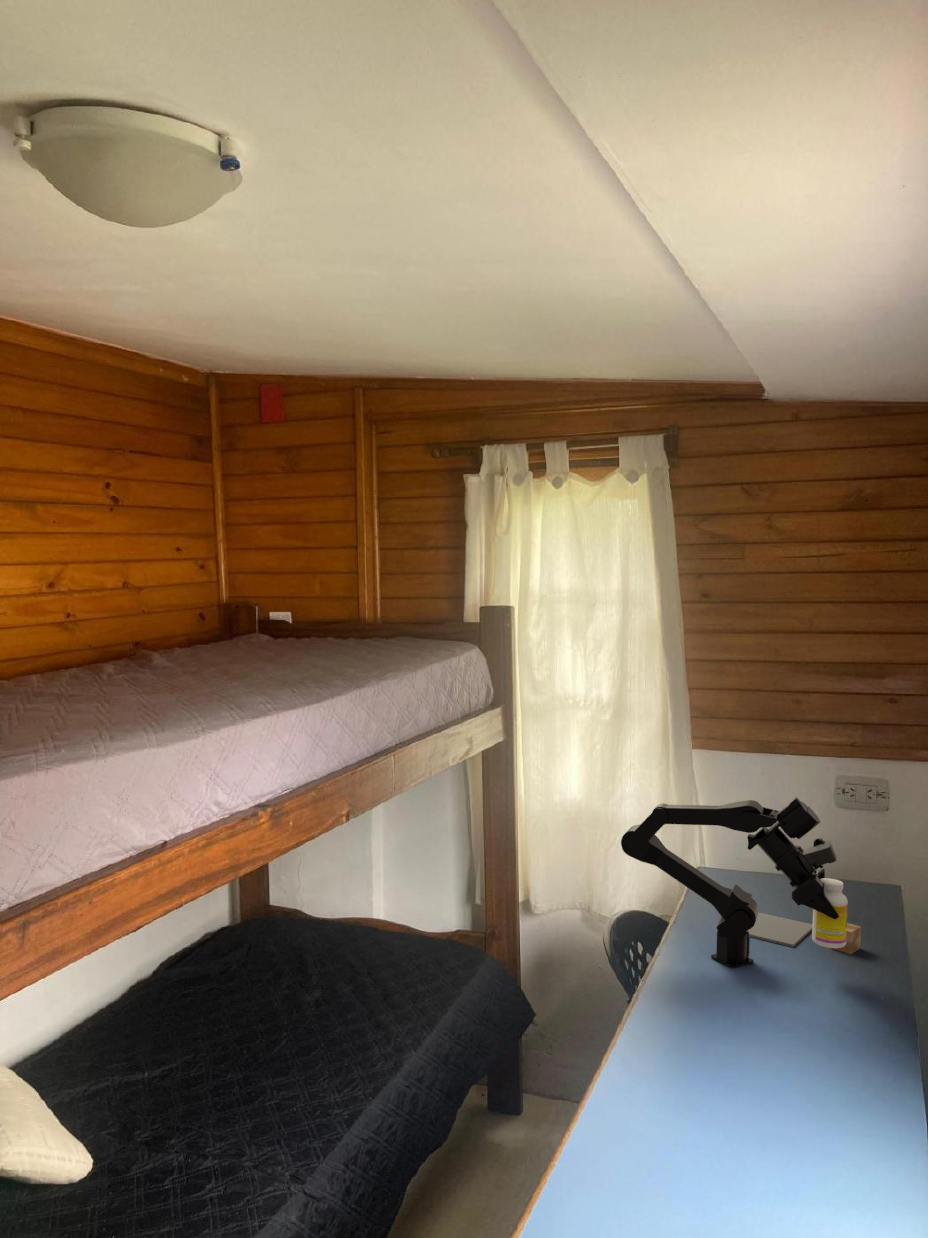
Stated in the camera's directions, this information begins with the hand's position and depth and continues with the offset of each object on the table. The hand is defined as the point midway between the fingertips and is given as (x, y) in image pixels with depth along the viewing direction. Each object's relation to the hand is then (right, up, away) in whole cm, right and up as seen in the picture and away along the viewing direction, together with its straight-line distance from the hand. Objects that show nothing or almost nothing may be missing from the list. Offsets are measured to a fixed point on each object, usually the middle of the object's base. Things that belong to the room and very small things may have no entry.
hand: (837, 912), depth 194 cm
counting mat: (-5, -12, +27) cm, 31 cm away
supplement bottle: (-1, -7, +1) cm, 7 cm away
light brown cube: (+8, -13, +16) cm, 23 cm away
